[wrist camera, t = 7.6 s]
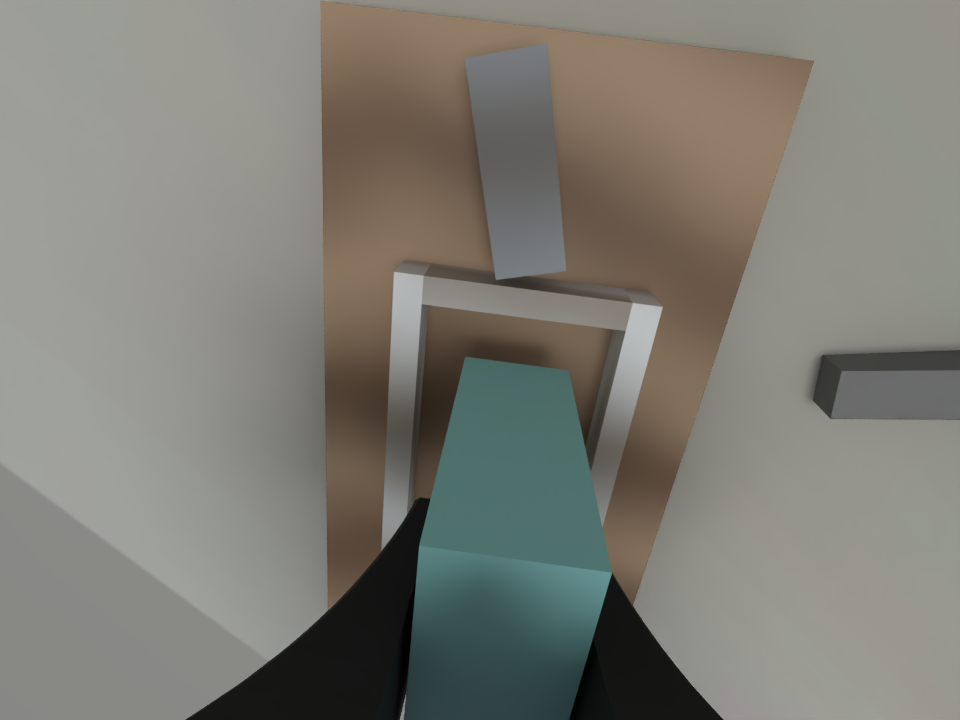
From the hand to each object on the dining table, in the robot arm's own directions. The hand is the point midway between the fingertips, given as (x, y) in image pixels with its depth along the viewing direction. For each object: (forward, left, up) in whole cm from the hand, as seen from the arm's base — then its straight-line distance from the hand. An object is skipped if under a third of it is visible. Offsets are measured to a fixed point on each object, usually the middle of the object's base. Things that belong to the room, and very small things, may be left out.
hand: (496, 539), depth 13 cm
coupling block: (+1, 0, -3) cm, 3 cm away
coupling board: (0, 0, -6) cm, 6 cm away
